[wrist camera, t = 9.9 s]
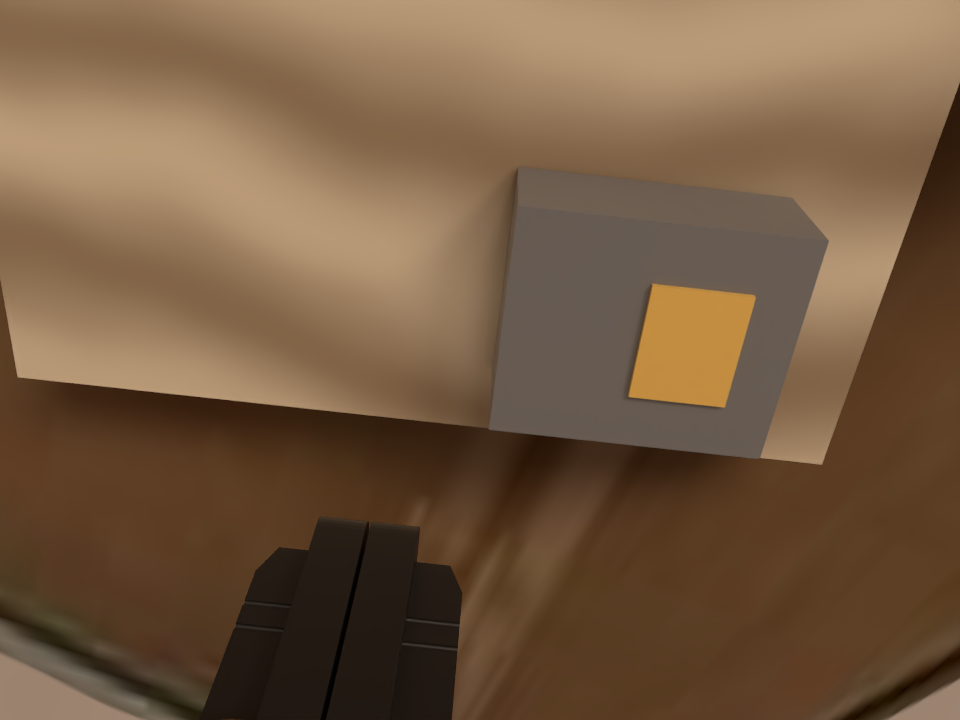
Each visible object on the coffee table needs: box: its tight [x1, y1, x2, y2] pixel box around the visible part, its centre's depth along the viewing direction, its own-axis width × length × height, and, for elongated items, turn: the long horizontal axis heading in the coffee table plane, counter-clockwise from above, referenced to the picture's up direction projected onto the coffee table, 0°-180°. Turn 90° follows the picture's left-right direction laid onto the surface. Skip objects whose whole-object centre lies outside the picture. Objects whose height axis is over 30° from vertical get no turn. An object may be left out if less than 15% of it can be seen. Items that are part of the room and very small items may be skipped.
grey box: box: [489, 167, 829, 459], centre depth 22 cm, size 6×7×3 cm
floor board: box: [0, 0, 960, 464], centre depth 23 cm, size 18×24×4 cm
